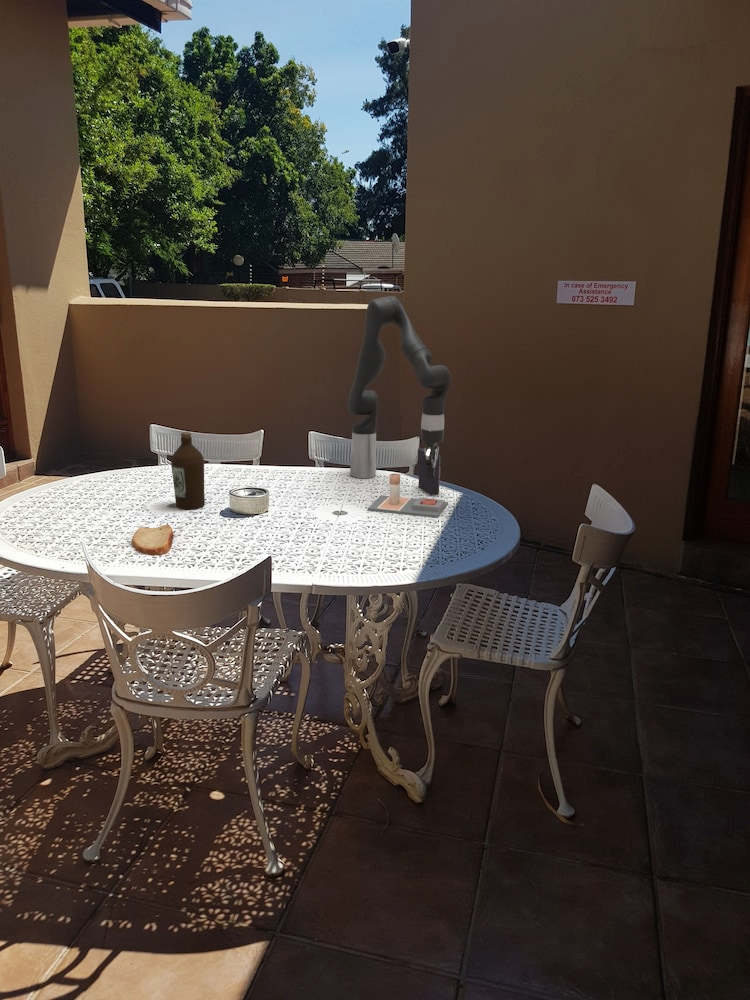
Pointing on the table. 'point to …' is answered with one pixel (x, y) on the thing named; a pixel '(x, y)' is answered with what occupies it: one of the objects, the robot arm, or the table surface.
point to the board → (409, 506)
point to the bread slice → (153, 540)
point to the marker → (394, 488)
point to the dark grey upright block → (426, 483)
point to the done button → (428, 502)
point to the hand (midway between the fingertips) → (430, 477)
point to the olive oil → (188, 475)
